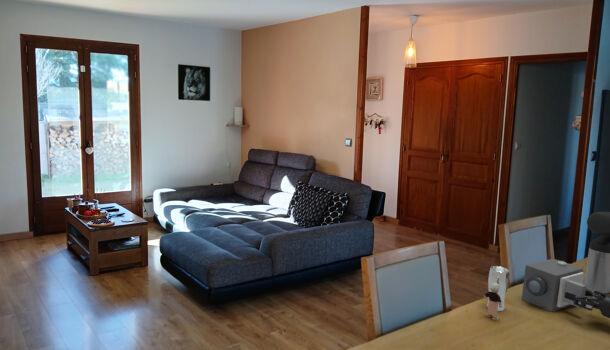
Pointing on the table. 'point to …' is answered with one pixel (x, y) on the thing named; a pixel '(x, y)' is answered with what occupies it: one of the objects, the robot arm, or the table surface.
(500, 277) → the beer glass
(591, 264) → the robot arm
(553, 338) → the table surface
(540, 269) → the box
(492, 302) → the grandmother figurine
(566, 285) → the side door
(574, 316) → the table surface
